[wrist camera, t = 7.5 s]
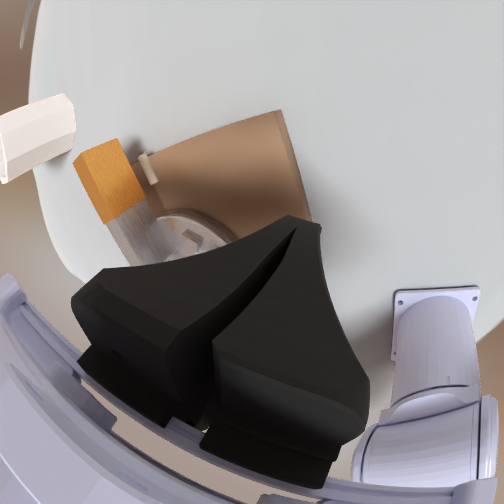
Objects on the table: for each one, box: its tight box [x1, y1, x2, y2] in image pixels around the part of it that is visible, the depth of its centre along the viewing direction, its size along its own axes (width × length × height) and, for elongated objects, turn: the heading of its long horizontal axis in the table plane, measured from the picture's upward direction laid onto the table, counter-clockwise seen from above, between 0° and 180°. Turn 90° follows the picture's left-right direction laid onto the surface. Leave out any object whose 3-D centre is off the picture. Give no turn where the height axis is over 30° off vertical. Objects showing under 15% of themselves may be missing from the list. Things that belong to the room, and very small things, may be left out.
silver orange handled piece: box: [73, 138, 237, 266], centre depth 21 cm, size 20×12×6 cm, turn 26°
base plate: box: [130, 110, 312, 240], centre depth 26 cm, size 22×22×2 cm
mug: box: [0, 93, 76, 184], centre depth 21 cm, size 12×9×10 cm
